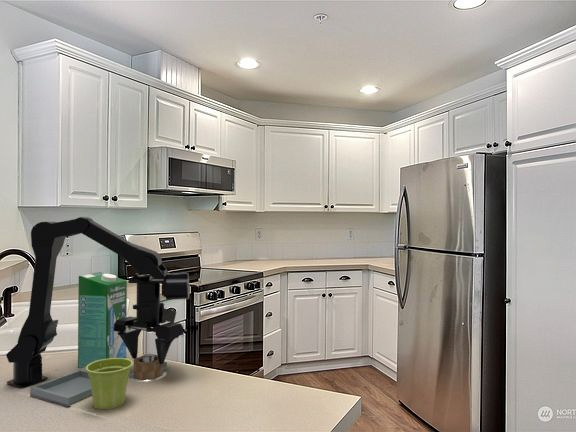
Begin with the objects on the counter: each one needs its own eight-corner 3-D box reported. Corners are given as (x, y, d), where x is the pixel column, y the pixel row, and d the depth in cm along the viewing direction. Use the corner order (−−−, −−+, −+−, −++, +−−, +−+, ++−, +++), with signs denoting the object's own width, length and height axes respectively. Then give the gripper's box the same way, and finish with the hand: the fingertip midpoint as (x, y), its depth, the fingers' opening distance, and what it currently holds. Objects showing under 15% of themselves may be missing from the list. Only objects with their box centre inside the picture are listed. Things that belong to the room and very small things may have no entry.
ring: (127, 377, 105) (127, 361, 105) (154, 365, 114) (154, 351, 114) (148, 381, 102) (148, 365, 102) (174, 369, 111) (174, 354, 111)
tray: (30, 396, 95) (30, 387, 95) (80, 377, 106) (80, 369, 106) (68, 407, 89) (68, 398, 89) (117, 386, 101) (117, 377, 101)
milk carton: (107, 369, 112) (107, 276, 112) (77, 367, 114) (78, 275, 114) (126, 358, 121) (127, 272, 121) (98, 356, 122) (99, 271, 123)
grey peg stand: (121, 379, 105) (121, 357, 105) (148, 368, 113) (148, 348, 113) (148, 385, 101) (148, 363, 101) (173, 373, 109) (174, 352, 109)
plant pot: (118, 392, 97) (118, 354, 97) (141, 403, 91) (141, 363, 91) (77, 405, 90) (77, 365, 90) (98, 419, 84) (99, 375, 84)
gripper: (197, 297, 110) (197, 357, 110) (144, 292, 119) (144, 347, 118) (167, 305, 100) (167, 370, 100) (112, 298, 109) (112, 359, 108)
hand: (147, 361), depth 107 cm, fingers open, 9 cm apart
